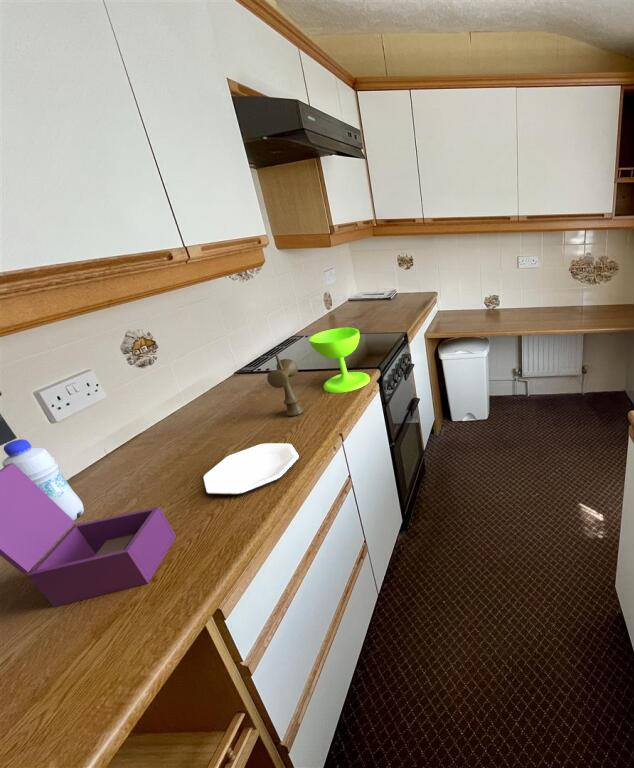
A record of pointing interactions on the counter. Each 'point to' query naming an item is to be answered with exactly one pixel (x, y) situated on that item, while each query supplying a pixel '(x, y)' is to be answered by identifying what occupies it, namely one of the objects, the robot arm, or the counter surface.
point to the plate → (250, 468)
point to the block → (115, 545)
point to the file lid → (27, 520)
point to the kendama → (286, 384)
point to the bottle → (44, 475)
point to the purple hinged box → (104, 557)
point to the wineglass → (340, 357)
